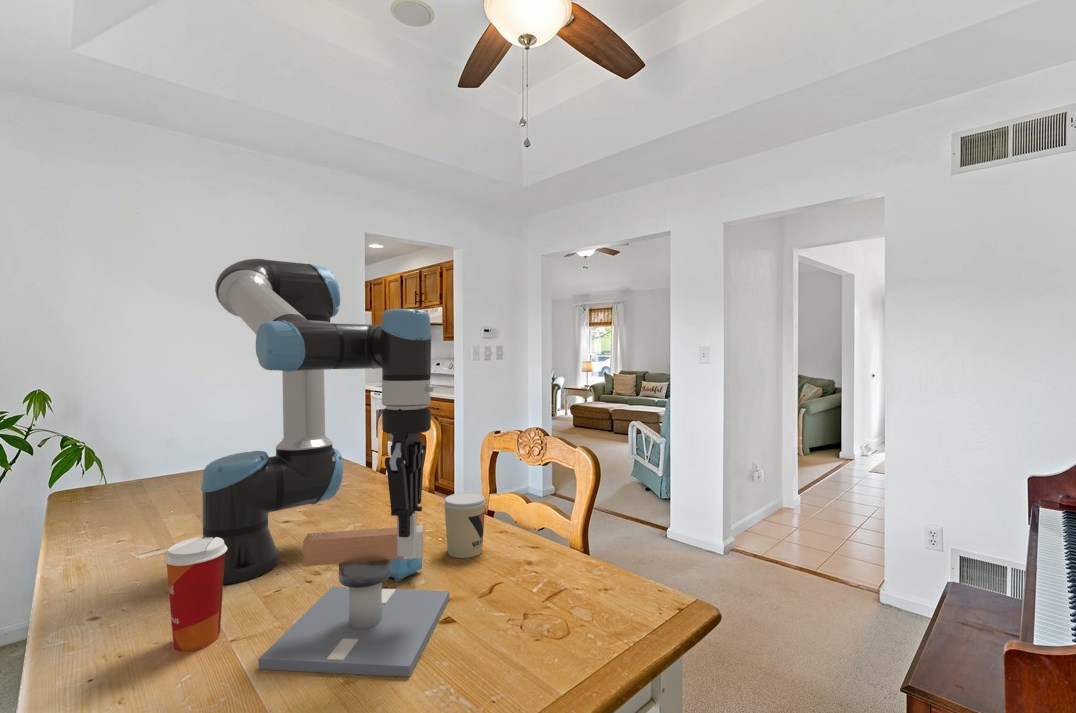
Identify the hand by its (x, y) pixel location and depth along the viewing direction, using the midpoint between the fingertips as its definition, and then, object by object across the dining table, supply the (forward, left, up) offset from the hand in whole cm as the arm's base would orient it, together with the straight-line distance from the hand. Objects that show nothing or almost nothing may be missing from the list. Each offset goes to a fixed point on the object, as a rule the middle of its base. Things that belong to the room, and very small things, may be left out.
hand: (406, 554), depth 81 cm
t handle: (-7, +1, -4) cm, 8 cm away
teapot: (-8, +21, -13) cm, 26 cm away
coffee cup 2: (+2, +34, -13) cm, 36 cm away
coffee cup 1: (-32, -4, -13) cm, 35 cm away
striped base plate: (-7, +1, -13) cm, 15 cm away
